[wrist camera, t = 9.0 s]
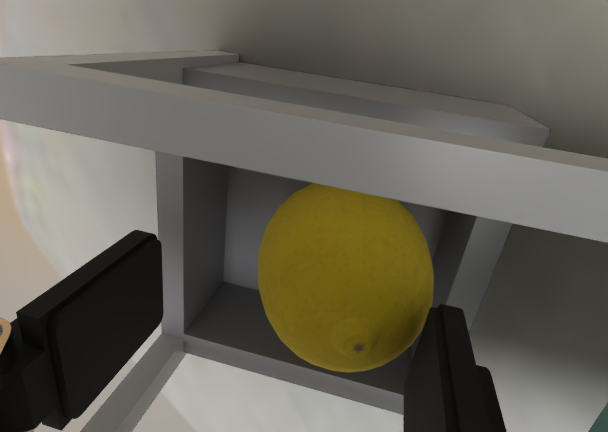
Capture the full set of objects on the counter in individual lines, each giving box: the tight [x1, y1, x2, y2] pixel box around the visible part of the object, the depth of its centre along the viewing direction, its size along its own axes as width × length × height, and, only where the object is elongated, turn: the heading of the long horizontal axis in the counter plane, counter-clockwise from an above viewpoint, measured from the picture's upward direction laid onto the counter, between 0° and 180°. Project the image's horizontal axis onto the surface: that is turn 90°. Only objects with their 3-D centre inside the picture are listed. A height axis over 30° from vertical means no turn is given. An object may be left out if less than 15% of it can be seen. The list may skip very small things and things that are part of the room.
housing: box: [0, 50, 608, 432], centre depth 12 cm, size 12×24×10 cm, turn 82°
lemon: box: [258, 183, 434, 372], centre depth 13 cm, size 6×6×8 cm
